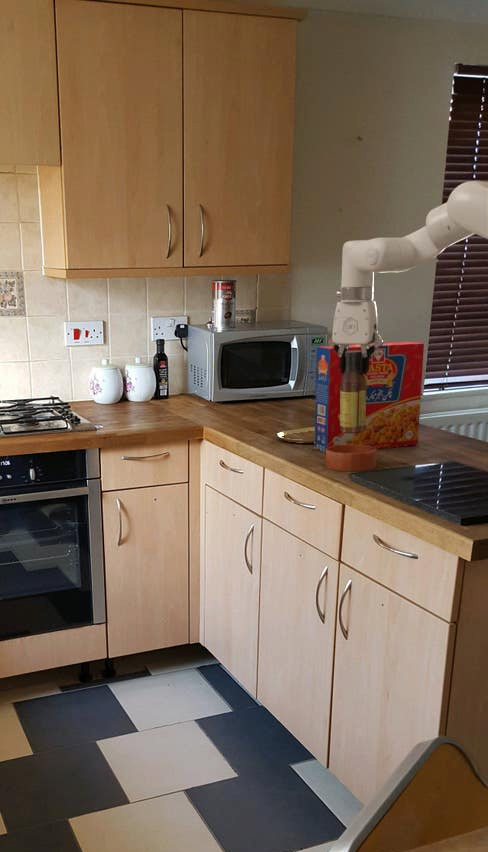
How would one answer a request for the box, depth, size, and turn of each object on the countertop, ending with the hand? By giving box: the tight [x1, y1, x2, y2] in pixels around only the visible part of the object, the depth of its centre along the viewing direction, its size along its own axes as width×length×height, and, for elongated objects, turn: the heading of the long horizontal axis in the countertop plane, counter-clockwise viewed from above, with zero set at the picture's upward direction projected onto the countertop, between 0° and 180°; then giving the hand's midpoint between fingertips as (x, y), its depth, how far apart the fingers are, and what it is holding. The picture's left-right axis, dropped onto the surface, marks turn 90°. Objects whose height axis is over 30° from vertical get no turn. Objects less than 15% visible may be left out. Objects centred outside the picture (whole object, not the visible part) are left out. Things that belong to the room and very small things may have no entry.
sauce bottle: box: [340, 350, 366, 433], centre depth 217 cm, size 6×6×20 cm
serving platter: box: [276, 426, 315, 443], centre depth 265 cm, size 19×35×2 cm, turn 120°
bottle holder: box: [324, 444, 378, 472], centre depth 222 cm, size 13×13×4 cm
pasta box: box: [313, 341, 425, 452], centre depth 242 cm, size 28×8×28 cm, turn 106°
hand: (354, 372), depth 215 cm, fingers closed on sauce bottle, 4 cm apart
